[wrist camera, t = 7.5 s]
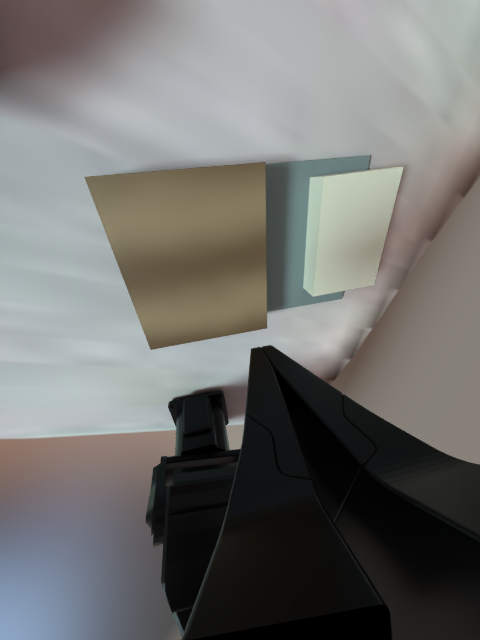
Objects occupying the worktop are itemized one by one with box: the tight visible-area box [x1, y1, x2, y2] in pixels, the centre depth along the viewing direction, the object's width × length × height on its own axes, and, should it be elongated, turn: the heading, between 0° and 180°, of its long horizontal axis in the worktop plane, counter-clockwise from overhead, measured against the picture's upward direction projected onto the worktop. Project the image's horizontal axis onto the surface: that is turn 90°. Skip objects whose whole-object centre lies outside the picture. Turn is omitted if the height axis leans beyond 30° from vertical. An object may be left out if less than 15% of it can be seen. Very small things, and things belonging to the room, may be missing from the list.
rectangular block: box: [303, 167, 403, 297], centre depth 18 cm, size 9×6×2 cm, turn 6°
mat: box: [265, 155, 371, 312], centre depth 19 cm, size 12×9×1 cm
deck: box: [85, 162, 267, 350], centre depth 17 cm, size 12×10×3 cm
